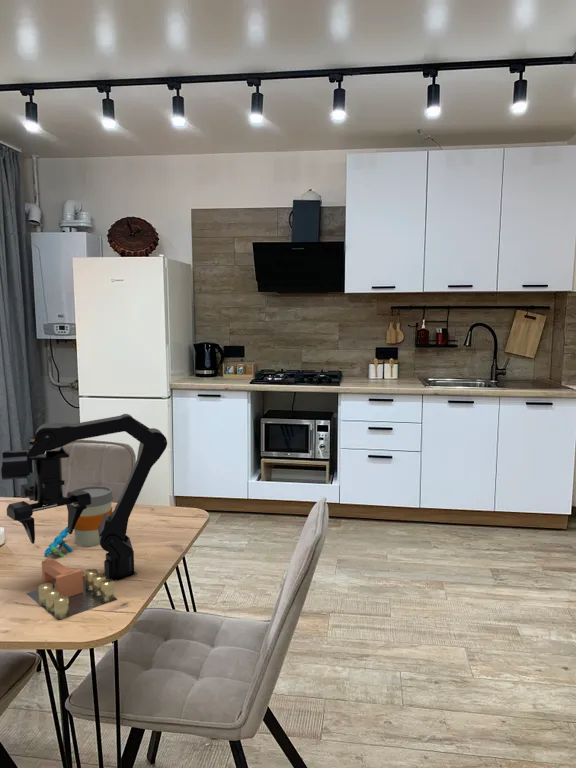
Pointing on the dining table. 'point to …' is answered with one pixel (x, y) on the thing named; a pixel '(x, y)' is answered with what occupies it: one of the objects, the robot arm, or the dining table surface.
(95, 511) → the reusable coffee cup
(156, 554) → the dining table surface
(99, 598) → the plate
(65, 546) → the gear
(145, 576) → the dining table surface
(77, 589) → the copper l-bar
